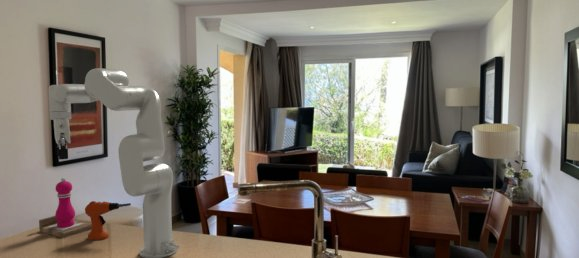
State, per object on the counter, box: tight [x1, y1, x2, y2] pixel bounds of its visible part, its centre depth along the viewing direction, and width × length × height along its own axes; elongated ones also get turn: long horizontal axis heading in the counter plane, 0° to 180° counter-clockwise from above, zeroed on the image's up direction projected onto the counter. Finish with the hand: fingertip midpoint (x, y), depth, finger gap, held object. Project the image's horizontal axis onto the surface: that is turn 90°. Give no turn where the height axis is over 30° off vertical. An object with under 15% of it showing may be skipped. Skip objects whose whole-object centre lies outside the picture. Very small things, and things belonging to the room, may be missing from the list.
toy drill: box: [84, 200, 132, 241], centre depth 156 cm, size 5×19×15 cm, turn 87°
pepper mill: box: [54, 177, 76, 228], centre depth 165 cm, size 7×7×20 cm
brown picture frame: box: [38, 215, 92, 239], centre depth 166 cm, size 16×12×5 cm
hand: (62, 157), depth 163 cm, fingers open, 9 cm apart
